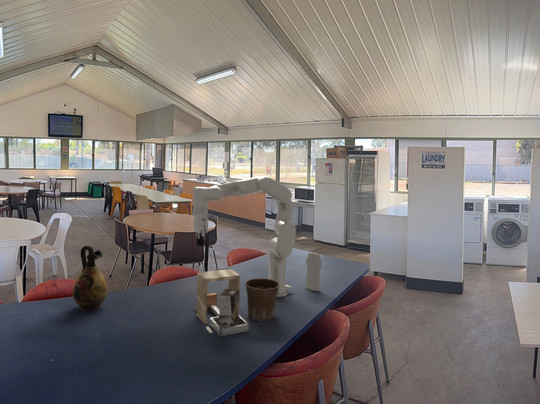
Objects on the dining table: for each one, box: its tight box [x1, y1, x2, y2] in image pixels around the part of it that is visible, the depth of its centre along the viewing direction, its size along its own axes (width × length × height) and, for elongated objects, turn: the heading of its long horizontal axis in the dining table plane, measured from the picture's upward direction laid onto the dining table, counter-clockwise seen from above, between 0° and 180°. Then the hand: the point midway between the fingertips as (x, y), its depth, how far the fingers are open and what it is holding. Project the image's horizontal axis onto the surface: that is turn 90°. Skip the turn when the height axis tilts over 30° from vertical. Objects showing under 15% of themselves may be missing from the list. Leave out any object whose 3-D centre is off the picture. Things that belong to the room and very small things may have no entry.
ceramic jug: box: [72, 244, 108, 312], centre depth 184 cm, size 17×15×30 cm
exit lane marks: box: [205, 326, 213, 334], centre depth 167 cm, size 18×6×1 cm, turn 118°
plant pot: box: [244, 277, 280, 322], centre depth 179 cm, size 16×16×16 cm
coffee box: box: [218, 288, 239, 328], centre depth 166 cm, size 9×6×16 cm
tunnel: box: [196, 268, 241, 325], centre depth 177 cm, size 17×11×20 cm, turn 118°
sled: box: [207, 293, 250, 337], centre depth 175 cm, size 13×33×6 cm, turn 28°
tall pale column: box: [305, 252, 323, 292], centre depth 221 cm, size 11×4×22 cm, turn 51°
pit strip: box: [193, 305, 219, 313], centre depth 188 cm, size 16×3×1 cm, turn 118°
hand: (200, 245), depth 198 cm, fingers closed
